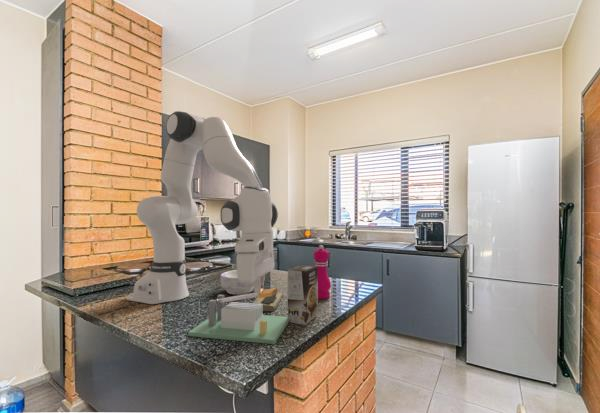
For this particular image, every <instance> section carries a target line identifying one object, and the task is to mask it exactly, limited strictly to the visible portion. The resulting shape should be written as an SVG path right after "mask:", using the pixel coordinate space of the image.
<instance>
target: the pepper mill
mask: <svg viewBox="0 0 600 413" xmlns="http://www.w3.org/2000/svg"><path fill="white" fill-rule="evenodd" d="M329 258H330V254H329V251H328V250H327V249H325V248H324V245H322V244H320V245H318V248H317V249H316V250H315V251H314V252H313V259H314V260H315V261H314V263H315V264H314V266H318V300H319V299H320V300H326V299H329V298H330V297H331V296H330V294H331V293H330V291H329V290H331V287H332V283H331V280H330V277H329V275H328V271H327V270H328V265H329V264H328V263H329V261H328V260H329Z"/></svg>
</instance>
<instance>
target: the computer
mask: <svg viewBox="0 0 600 413" xmlns="http://www.w3.org/2000/svg"><path fill="white" fill-rule="evenodd" d="M282 298H283V292H281V291H280V292H278V291H277V292H276V293H275V294H274V295H273V296H269V297H263V298H258V297H256V298H255V300H254V301H253V302H252V303H253V304H263V312H275V310H276V309H277V307H278V305H279V303H280V301H281V300H282Z"/></svg>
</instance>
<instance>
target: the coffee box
mask: <svg viewBox="0 0 600 413" xmlns="http://www.w3.org/2000/svg"><path fill="white" fill-rule="evenodd" d="M318 316H319V299H318V266H316V265H307V264H306V265H304V264H303V265H302V264H300V265H297V266H295V267H292V268H289V269H287V317H288V318H289V323H293V324H298V325H302V324H303V325H302V326H307V325H308V324H309V323H310V322H312V321H313V320H314V319H316V318H317V317H318ZM311 320H312V321H311Z"/></svg>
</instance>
